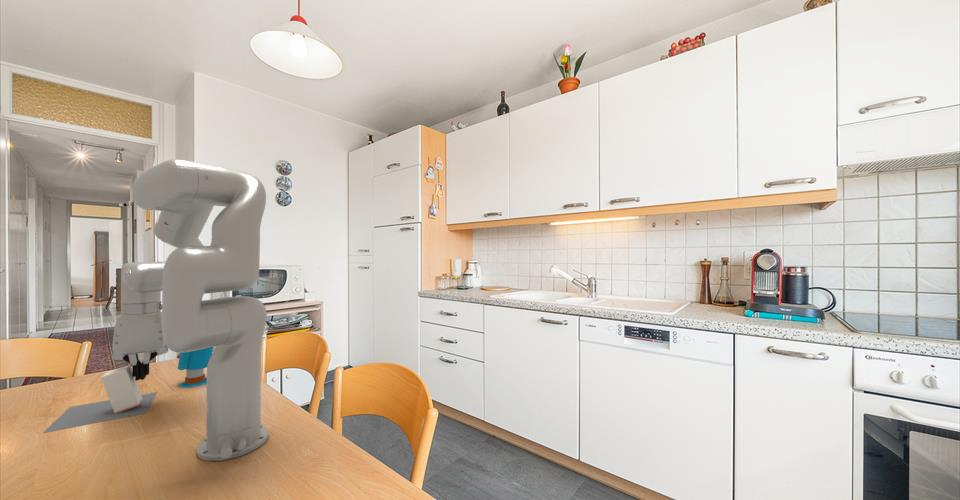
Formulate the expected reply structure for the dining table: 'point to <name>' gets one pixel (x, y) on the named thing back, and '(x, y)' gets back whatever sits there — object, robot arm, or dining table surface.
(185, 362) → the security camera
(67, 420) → the mat
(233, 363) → the robot arm
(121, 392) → the block
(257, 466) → the dining table surface
